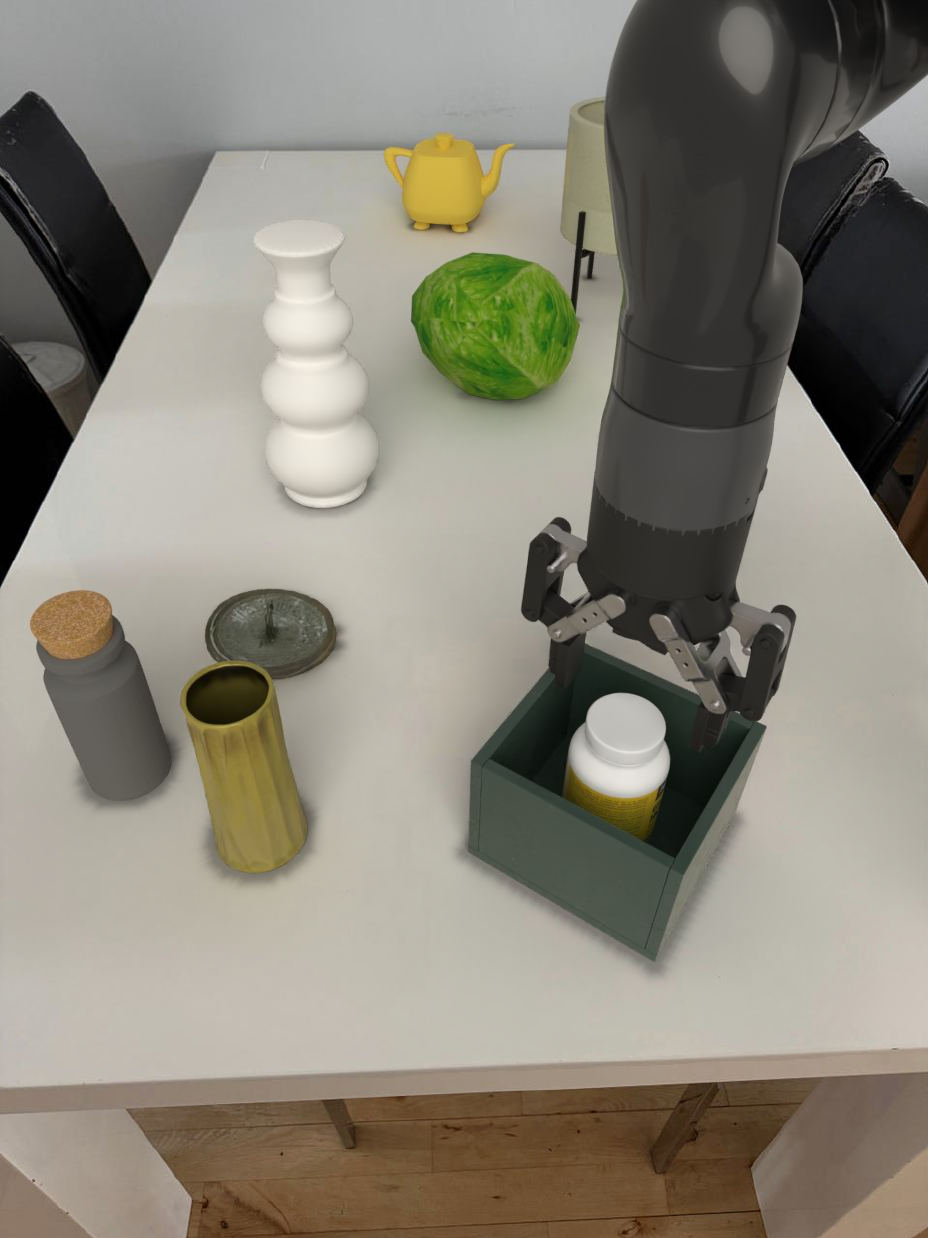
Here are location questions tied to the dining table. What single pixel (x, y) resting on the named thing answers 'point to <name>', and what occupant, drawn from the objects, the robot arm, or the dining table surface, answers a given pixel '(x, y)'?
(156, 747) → the bottle
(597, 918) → the open box
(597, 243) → the planter
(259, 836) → the vase
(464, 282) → the lettuce
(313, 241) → the vase
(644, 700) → the pill bottle
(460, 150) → the teapot
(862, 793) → the dining table surface
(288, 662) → the lid
